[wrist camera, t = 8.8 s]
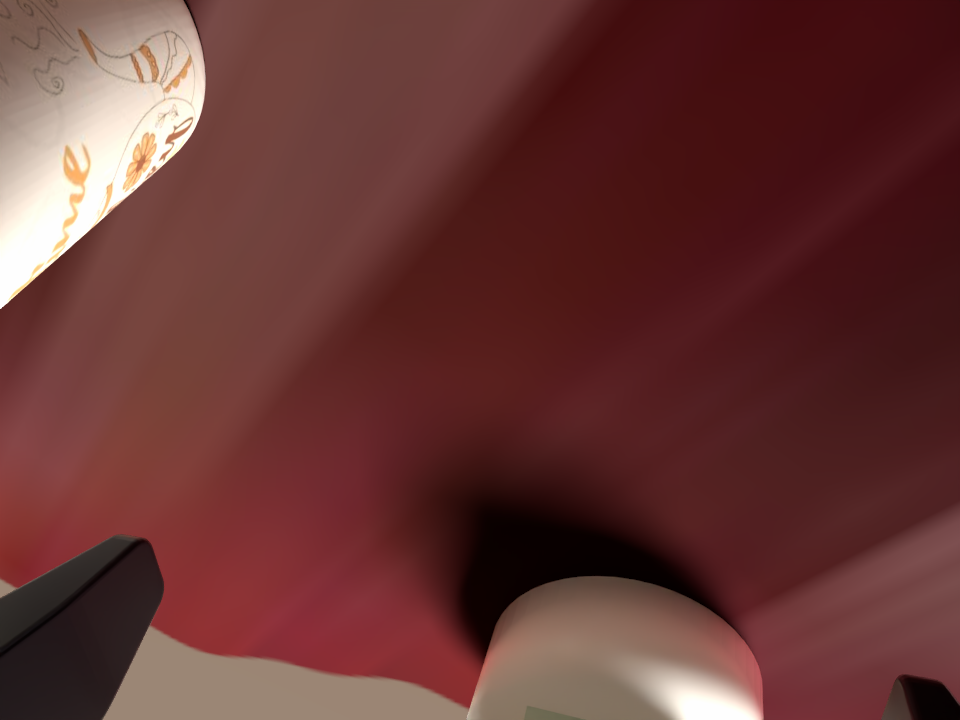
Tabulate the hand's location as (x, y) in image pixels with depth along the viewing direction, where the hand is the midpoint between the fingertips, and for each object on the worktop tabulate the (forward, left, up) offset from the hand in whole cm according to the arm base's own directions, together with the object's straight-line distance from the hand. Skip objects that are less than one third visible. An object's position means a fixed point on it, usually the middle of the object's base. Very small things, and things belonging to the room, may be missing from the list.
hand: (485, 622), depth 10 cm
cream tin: (-1, +16, -12) cm, 20 cm away
